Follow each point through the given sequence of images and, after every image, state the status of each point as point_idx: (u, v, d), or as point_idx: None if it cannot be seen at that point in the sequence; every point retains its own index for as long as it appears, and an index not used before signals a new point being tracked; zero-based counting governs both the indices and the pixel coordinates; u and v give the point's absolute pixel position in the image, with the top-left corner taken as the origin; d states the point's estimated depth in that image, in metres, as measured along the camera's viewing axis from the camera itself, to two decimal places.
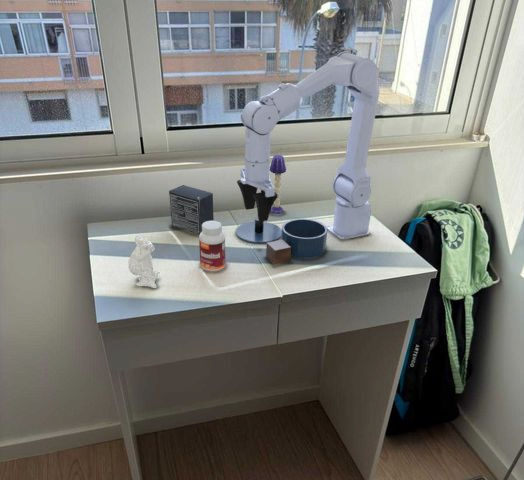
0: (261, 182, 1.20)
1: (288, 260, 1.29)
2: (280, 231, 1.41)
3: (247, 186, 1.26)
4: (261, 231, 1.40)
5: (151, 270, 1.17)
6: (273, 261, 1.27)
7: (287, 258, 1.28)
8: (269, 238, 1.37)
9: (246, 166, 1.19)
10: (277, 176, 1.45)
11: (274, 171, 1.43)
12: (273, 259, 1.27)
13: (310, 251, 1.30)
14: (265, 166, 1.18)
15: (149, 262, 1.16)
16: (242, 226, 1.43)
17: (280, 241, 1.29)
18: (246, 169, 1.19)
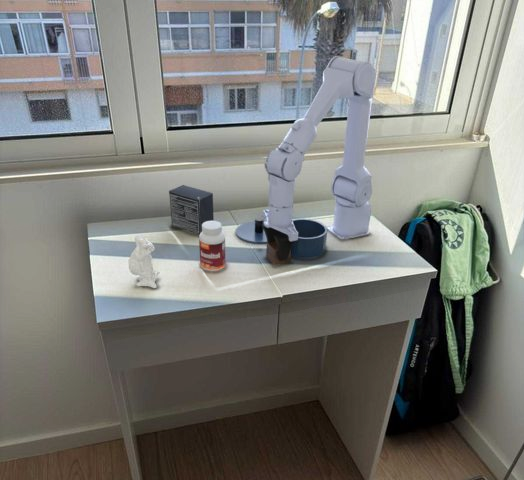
0: (284, 226, 1.21)
1: (288, 260, 1.29)
2: None
3: (272, 230, 1.27)
4: (261, 231, 1.40)
5: (151, 270, 1.17)
6: (273, 261, 1.27)
7: None
8: None
9: (270, 210, 1.21)
10: None
11: None
12: (273, 259, 1.27)
13: (310, 251, 1.30)
14: (289, 211, 1.20)
15: (149, 262, 1.16)
16: (242, 226, 1.43)
17: None
18: (270, 213, 1.21)
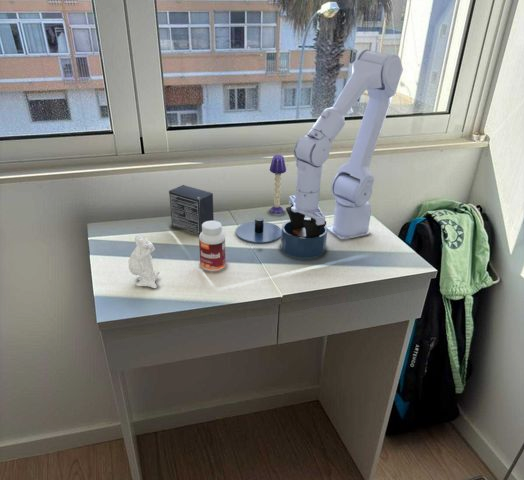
0: (311, 210, 1.26)
1: None
2: (280, 231, 1.41)
3: (296, 213, 1.32)
4: (261, 231, 1.40)
5: (151, 270, 1.17)
6: None
7: None
8: (269, 238, 1.37)
9: (297, 195, 1.25)
10: (277, 176, 1.45)
11: (274, 171, 1.43)
12: None
13: (310, 251, 1.30)
14: (316, 196, 1.24)
15: (149, 262, 1.16)
16: (242, 226, 1.43)
17: None
18: (297, 198, 1.26)
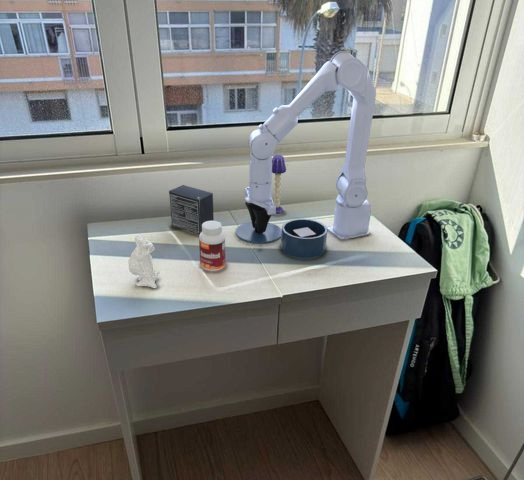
0: (264, 201, 1.32)
1: None
2: (280, 231, 1.41)
3: (254, 207, 1.37)
4: None
5: (151, 270, 1.17)
6: None
7: None
8: (269, 238, 1.37)
9: (250, 187, 1.32)
10: (277, 176, 1.45)
11: (274, 171, 1.43)
12: None
13: (310, 251, 1.30)
14: (267, 187, 1.31)
15: (149, 262, 1.16)
16: (242, 226, 1.43)
17: (305, 228, 1.34)
18: (250, 189, 1.32)
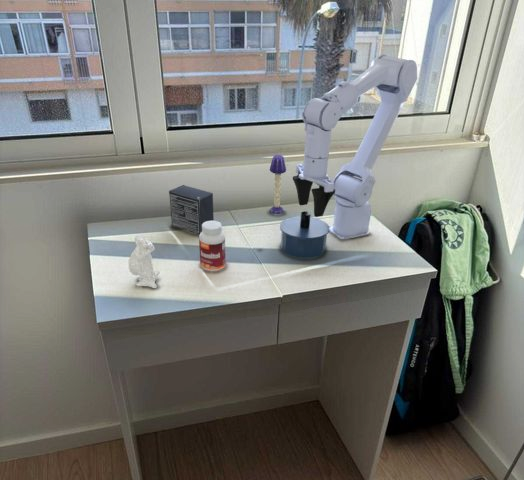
0: (319, 178, 1.22)
1: None
2: (327, 226, 1.32)
3: (303, 182, 1.29)
4: (307, 226, 1.31)
5: (151, 270, 1.17)
6: None
7: None
8: (316, 234, 1.28)
9: (305, 162, 1.21)
10: (277, 176, 1.45)
11: (274, 171, 1.43)
12: None
13: (310, 251, 1.30)
14: (324, 162, 1.21)
15: (149, 262, 1.16)
16: (286, 221, 1.34)
17: None
18: (305, 165, 1.22)
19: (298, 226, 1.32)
